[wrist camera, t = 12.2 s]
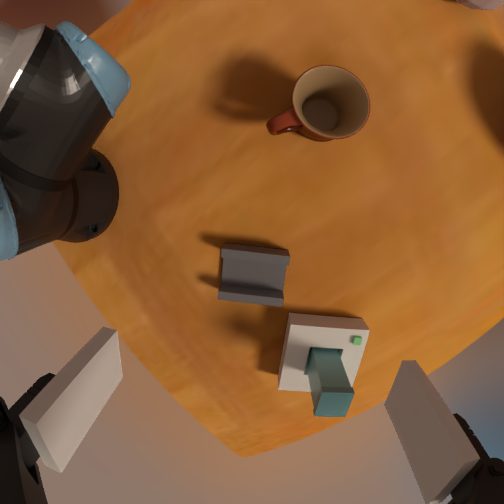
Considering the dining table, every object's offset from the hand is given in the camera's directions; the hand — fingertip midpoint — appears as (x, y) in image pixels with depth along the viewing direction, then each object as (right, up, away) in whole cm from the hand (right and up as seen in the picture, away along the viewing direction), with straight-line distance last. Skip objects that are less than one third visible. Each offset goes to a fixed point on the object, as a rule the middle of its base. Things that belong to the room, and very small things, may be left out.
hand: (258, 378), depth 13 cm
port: (+11, -10, +35) cm, 38 cm away
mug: (+7, +24, +27) cm, 36 cm away
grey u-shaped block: (0, +3, +32) cm, 32 cm away
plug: (+11, -10, +35) cm, 38 cm away
